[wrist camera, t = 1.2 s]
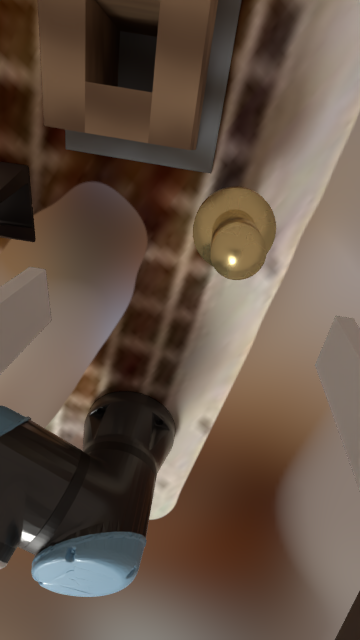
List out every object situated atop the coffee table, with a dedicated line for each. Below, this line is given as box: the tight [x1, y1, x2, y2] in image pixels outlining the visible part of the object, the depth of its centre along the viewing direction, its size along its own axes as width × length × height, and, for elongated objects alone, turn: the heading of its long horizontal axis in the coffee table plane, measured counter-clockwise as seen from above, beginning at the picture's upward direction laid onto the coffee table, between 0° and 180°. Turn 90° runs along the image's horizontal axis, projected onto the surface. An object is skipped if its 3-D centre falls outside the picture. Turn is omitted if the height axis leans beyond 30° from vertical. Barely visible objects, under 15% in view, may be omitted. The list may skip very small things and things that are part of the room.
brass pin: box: [193, 186, 276, 280], centre depth 31 cm, size 8×8×16 cm
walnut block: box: [38, 0, 241, 173], centre depth 28 cm, size 16×16×10 cm
